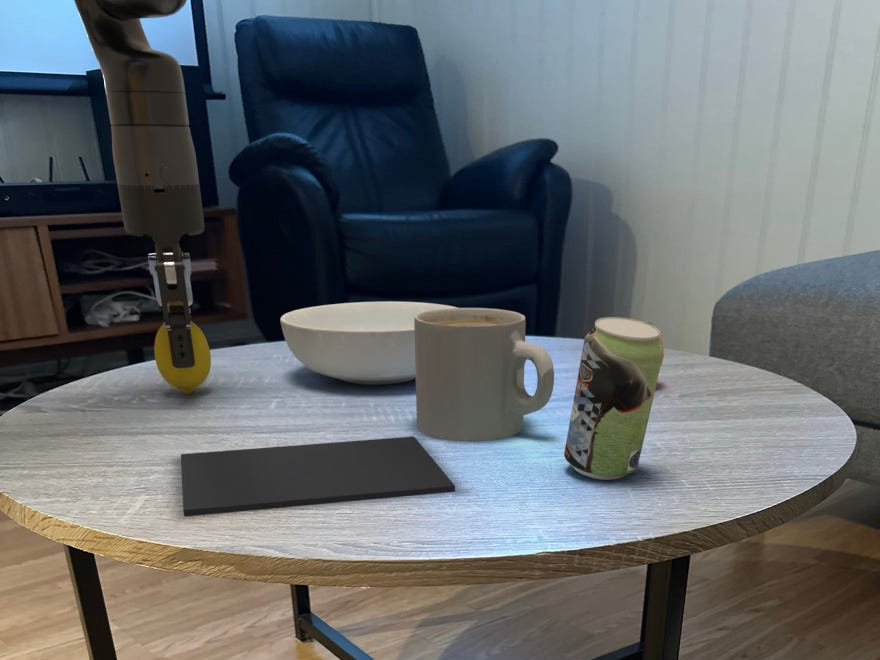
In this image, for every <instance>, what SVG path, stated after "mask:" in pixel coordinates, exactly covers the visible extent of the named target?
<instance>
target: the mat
mask: <svg viewBox="0 0 880 660" xmlns="http://www.w3.org/2000/svg"><path fill="white" fill-rule="evenodd" d="M180 465H181V466H180V468H181V487H182V488H181V489H182V509H183V510H182V511H183V516H184V517H195V516H205V515H207V516H208V515H215V514H228V513H238V512H247V511H260V510H268V509H281V508H291V507H293V508H294V507H305V506H315V505H325V504H336V503H347V502H358V501H367V500H379V499H391V498H400V497H411V496H421V495H423V496H424V495H434V494H444V493H454V492H456V485H455V484H454V483H453V482H452V480H451V479H450V477H448V476H447V474H446V473H445V471H443V469H442V468H441V467H440V466H439V465H438V463H437V462H436V461H435V460H434V459H433V457H432V456H431V455H430V454H429V452H428V451H427V450H426V449H425V447H424V446H422V444H421V443H420V442H419V440H418V439H417V438H416V437H415V436H402V437H389V438H387V437H386V438H374V439H363V440H362V439H361V440H350V441H336V442H323V443H310V444H297V445H296V444H295V445H283V446H271V447H268V446H267V447H258V448H257V447H256V448H243V449H231V450H230V449H229V450H216V451H205V452H204V451H203V452H189V453H180Z"/></svg>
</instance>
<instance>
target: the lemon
mask: <svg viewBox="0 0 880 660" xmlns="http://www.w3.org/2000/svg"><path fill="white" fill-rule="evenodd" d="M190 329H191V337H192V344H193V351H194V359H195V365H194V366H193V367H189V368H175V367H174V366H173V364H172V358H171V351H170V344H169V338H168V331H167V329H166V326H164V323H163V324H162V325H161V326H160V327H159V329H158V330H157V333H156V335H155V339H154V349H153V350H154V361H155V364H156V366H157V367H156V368H157V369H158V372H159V374H160V376H161V377H162V378H163V379H164V380H165V382H167V383H168V384H169V385H170V386H172V387H174V388H177V389H179V390H181V392H182V393H184V394H185V395H191V394H192V393H193V392H194V391H195V389H196V388H197V387H199V386H202V384H203V383H204V382H205V381H206V380H207V378H208V376H209V375H210V371H211V366H212V365H211V364H212V356H211V351H210V346H209V343H208V340H207V337H206V336H205V334H204V332H203V330H202V329H201V328H200V327H199V326H198V325H197V324H196V323H194V322H192V324H191V328H190Z"/></svg>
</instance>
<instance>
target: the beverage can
mask: <svg viewBox="0 0 880 660" xmlns="http://www.w3.org/2000/svg"><path fill="white" fill-rule="evenodd" d="M645 322H646V321H641V320H637V319H632V318H627V317H620V316H619V317H618V316H617V317H616V316H608V317H600V318H597V319H596V320H595V321H594V327H593V328H592V329H591V330H590V331H589V332H588V333H587V334H586V336H585V337H584V341H583V345H582V350H581V357H580V363H579V368H578V372H577V373H578V374H577V378H576V383H575V384H576V385H575V390H574V396H573V402H572V407H571V414H570V418H569V424H568V430H567V434H566V435H567V436H566V441H565V447H564V452H563V455H564V456H563V457H564V458H565V460H566V462H568V463H569V465H571V466H572V468H573V469H574V471H576V472H578V473H579V474H581V475H583V476H585V477H589V478H591V479H595V480H603V481H609V480H617V479H620V478H624V477H625V476H627V475H631V474H632V473H634V472H636V471H637V469H638V467H639V462H640V460H641V459H640V458H641V454H642V449H643V446H644V442H645V441H644V440H645V436H646V432H647V428H648V423H649V418H650V414H651V410H652V406H653V403H654V402H653V401H654V397H655V392H656V388H657V384H658V380H659V375H660V370H661V367H662V365H661V362H662V358H663V359H664V357H663V350H664V345H663V343H662V344H661V341H662V340H661V341H660V339H661V338H660V339H659V337H660V336H661V330H659V328H658V327H656V326H654V325H653V324H652V325H653V326H652V325H650V324H648V323H645ZM662 345H663V346H662ZM662 363H663V362H662Z"/></svg>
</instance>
